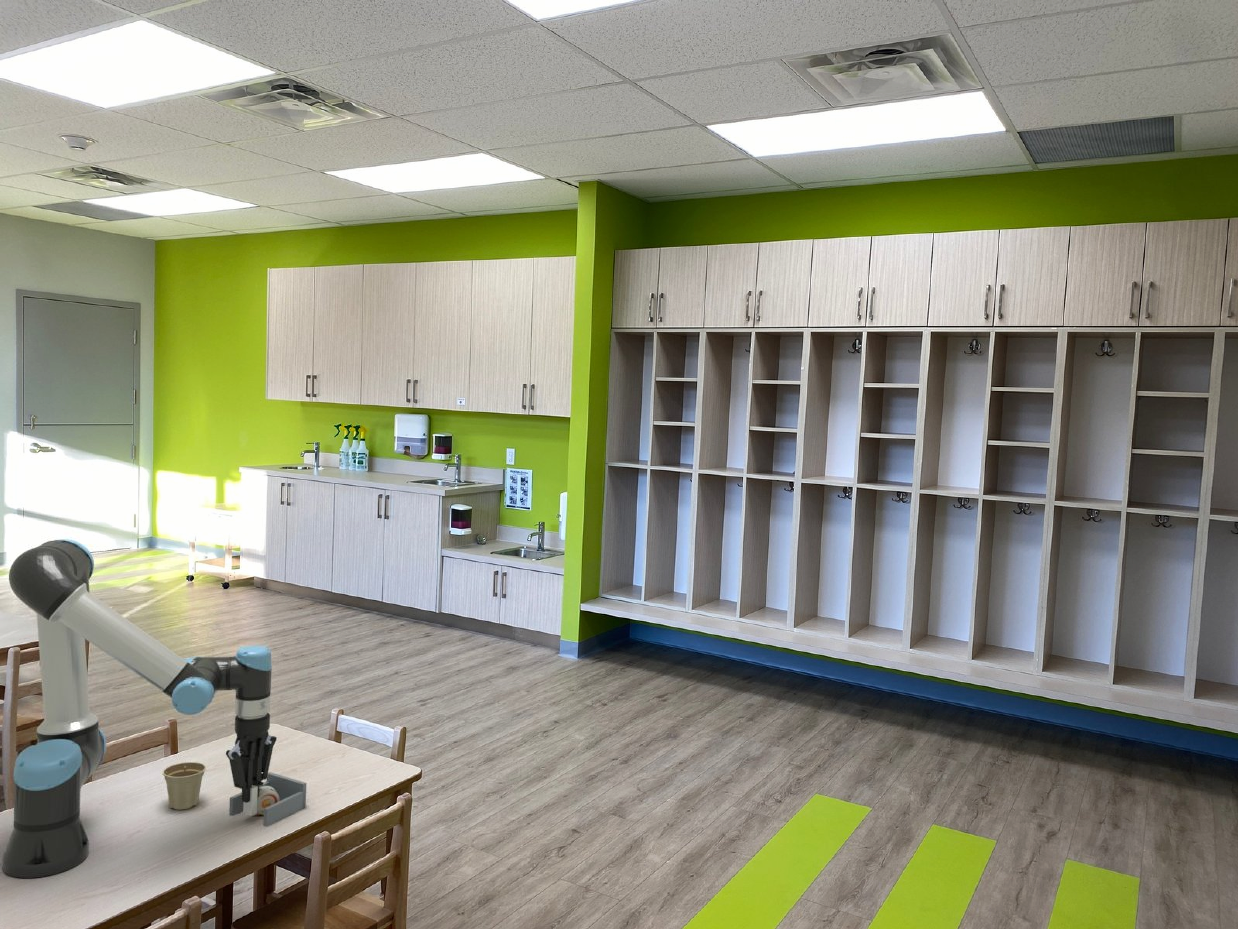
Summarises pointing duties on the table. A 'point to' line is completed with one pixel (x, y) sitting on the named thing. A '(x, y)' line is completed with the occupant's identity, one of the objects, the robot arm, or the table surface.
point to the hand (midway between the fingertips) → (250, 813)
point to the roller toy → (266, 798)
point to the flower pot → (184, 784)
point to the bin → (289, 795)
